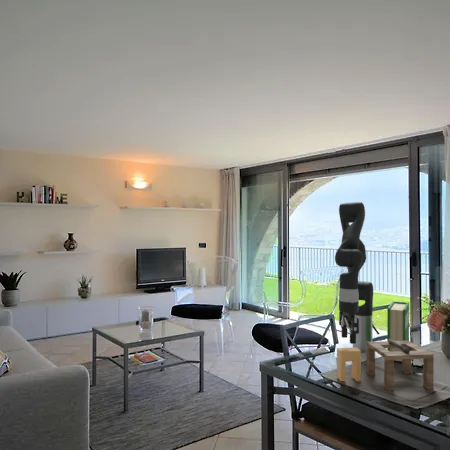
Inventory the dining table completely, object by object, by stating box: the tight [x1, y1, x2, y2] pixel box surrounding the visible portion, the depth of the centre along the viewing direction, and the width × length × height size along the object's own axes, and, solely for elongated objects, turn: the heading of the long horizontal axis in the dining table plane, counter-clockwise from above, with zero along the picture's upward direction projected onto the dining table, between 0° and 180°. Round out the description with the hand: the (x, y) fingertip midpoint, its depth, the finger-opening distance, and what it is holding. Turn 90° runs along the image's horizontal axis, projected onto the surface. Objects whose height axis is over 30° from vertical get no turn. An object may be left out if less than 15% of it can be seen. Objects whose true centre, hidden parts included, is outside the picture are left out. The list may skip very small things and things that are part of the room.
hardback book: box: [386, 300, 410, 363], centre depth 193 cm, size 18×7×24 cm, turn 151°
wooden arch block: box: [336, 347, 362, 382], centre depth 166 cm, size 4×8×12 cm, turn 96°
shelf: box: [365, 339, 434, 392], centre depth 165 cm, size 18×18×15 cm
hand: (348, 340), depth 166 cm, fingers open, 8 cm apart
